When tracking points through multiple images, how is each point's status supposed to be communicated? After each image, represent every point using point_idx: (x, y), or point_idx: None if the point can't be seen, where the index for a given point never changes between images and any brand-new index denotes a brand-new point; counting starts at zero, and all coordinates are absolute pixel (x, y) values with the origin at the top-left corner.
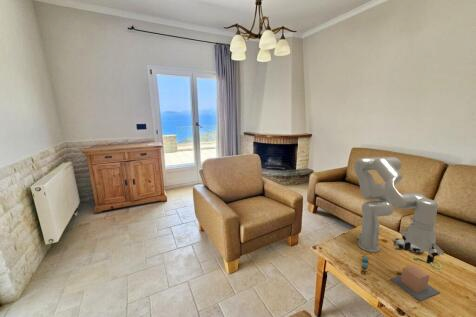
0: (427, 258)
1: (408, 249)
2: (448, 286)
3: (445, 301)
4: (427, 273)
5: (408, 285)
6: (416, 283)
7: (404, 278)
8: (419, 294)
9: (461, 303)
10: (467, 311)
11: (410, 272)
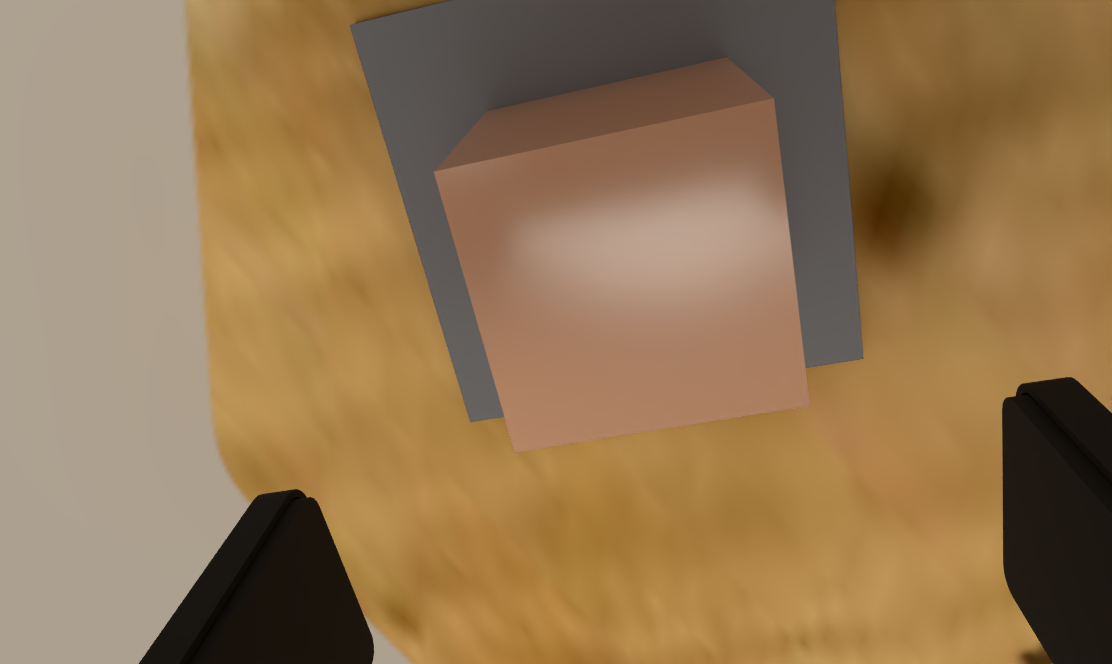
0: (232, 603)
1: (1016, 524)
2: (554, 593)
3: (354, 359)
4: (543, 445)
5: (607, 88)
6: (488, 136)
7: (684, 80)
8: (454, 121)
9: (325, 492)
10: (225, 447)
11: (615, 150)
